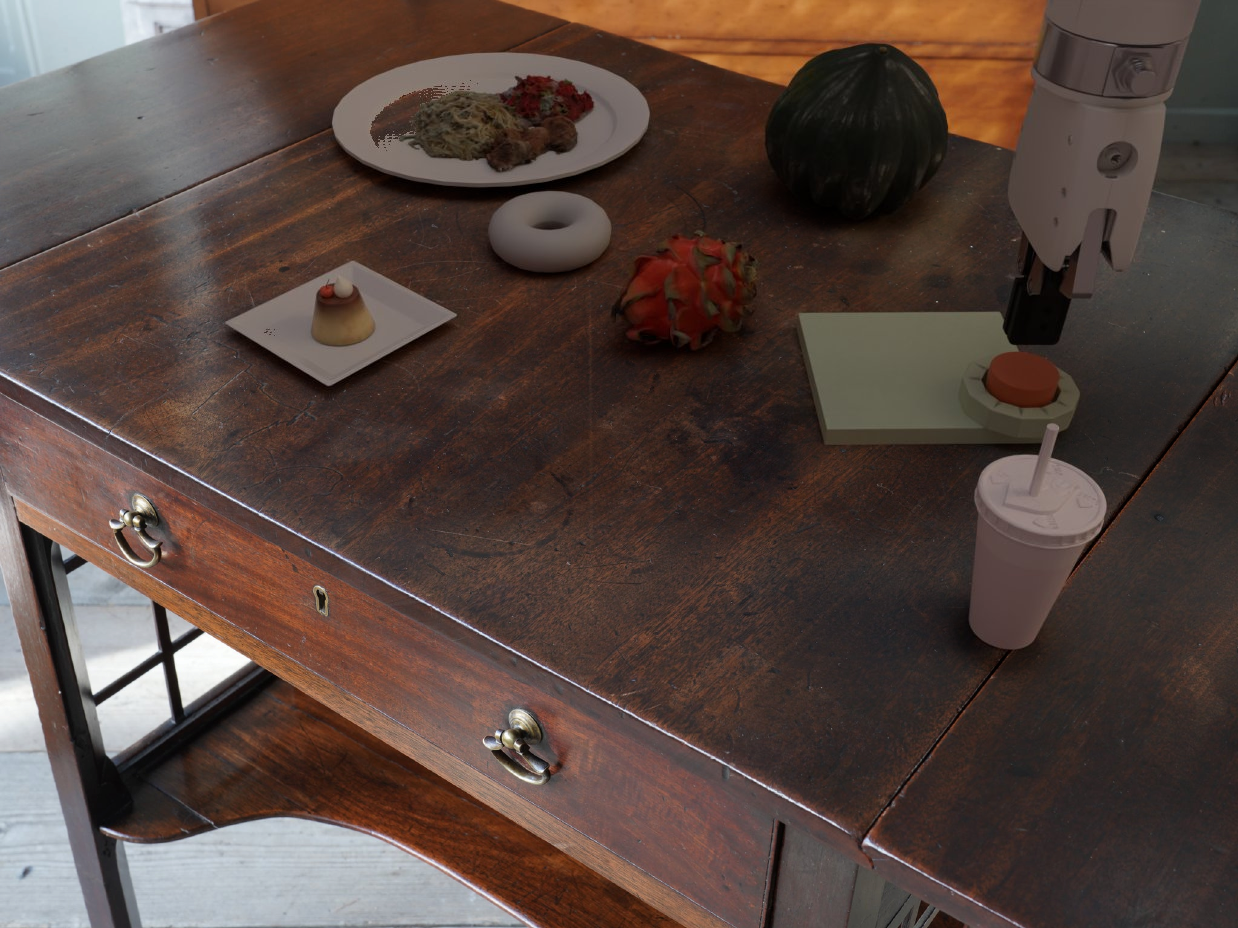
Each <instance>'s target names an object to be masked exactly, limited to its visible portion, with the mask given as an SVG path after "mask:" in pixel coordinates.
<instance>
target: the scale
mask: <svg viewBox="0 0 1238 928" xmlns="http://www.w3.org/2000/svg"><path fill="white" fill-rule="evenodd" d="M1003 317H1004V316H1003V315H1002V313H1001V311H906V312H905V311H903V312H902V311H901V312H900V311H898V312H896V311H895V312H894V311H893V312H890V311H889V312H888V311H887V312H886V311H885V312H882V311H880V312H878V311H877V312H798V313H797V317H796V325H795V328H796V333H797V337H798V341H799V345H800V350H801V354H802V357H803V361H804V366H805V370H806V374H807V378H808V383H809V386H810V391H811V395H812V398H813V399H812V400H813V402H814V407H815V411H816V416H817V419H818V424H819V428H820V432H821V436H822V440H823V444H824V445H825V446H855V445H856V446H857V445H859V446H860V445H862V446H863V445H867V446H868V445H869V446H870V445H972V444H973V445H974V444H975V445H977V444H978V445H979V444H980V445H981V444H983V445H985V444H986V445H988V444H990V445H991V444H994V445H995V444H996V445H997V444H1042V442H1043V439H1044V435H1045V432H1046V429H1047V425H1048V424H1051V423H1052V424H1056V425H1058V426H1059V431H1058V433H1061V432H1062V431H1065V430H1067V429H1068V428H1069V427H1070V425H1071V422H1072V420H1073V417H1074V416H1075V413H1076V410H1077V406H1078V403H1079V401H1080V396H1081V392H1080V390H1079V388H1078V386H1077V385H1076V383H1075V380H1074V379H1073V377H1072V376H1071V375H1070V374H1068V373H1067V372H1065V371H1063V370H1062V369H1061V368H1059V367H1058V366H1056V365H1054V366H1055V367H1056V368H1057V370H1058V372H1059V381H1058V385H1057V388H1056V392H1055V395H1054V398H1053V400H1052V401H1051V402H1050V403H1049V404H1048V405H1046V406H1043V407H1040V408H1020V407H1016V406H1013V405H1010V404H1006V403H1003V402H1000V401H999V400H997V399H996V398H994V397H993V396H992V395H990V393H989V392H988V390H987V388H986V379H987V375H988V371H989V367H990V363H991V361H992V360H993V359H994V358H995V357H996V356H998V355H1000V354H1003V353H1007V352H1020V350H1019V348H1018V345H1012V344H1010V343H1009V341H1008V339H1007V335H1006V334H1005V332H1004V330H1003V323H1004V319H1005V318H1003Z"/></svg>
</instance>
